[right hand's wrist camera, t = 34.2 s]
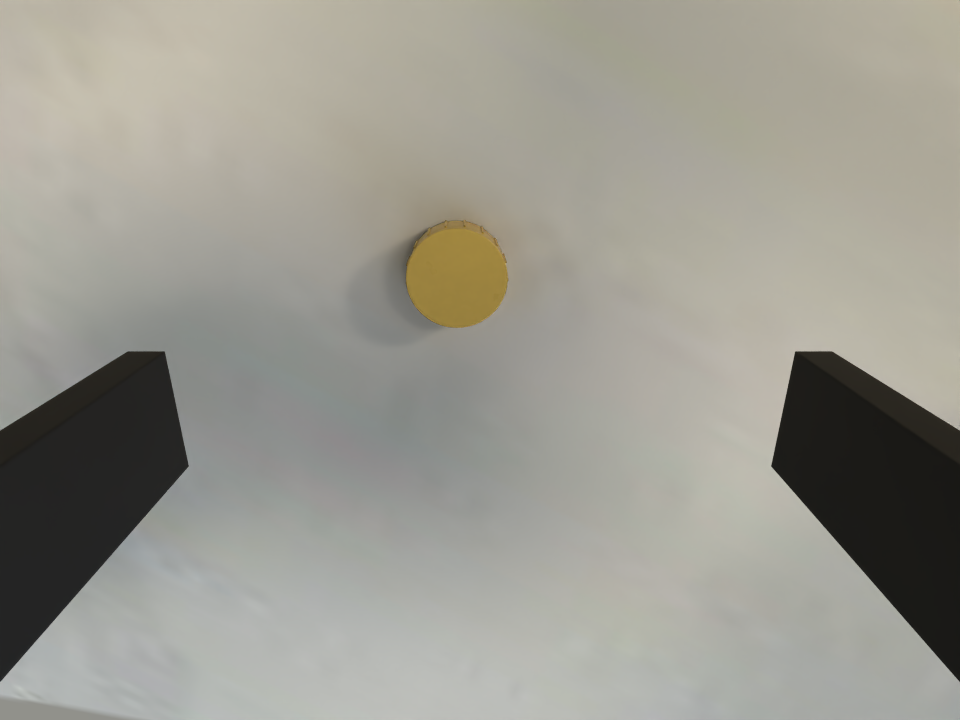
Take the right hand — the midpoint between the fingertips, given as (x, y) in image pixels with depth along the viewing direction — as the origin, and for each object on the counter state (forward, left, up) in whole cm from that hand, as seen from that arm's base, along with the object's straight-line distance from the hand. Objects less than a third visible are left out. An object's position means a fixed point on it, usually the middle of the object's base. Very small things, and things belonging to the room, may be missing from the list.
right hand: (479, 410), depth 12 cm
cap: (0, 0, -11) cm, 11 cm away
